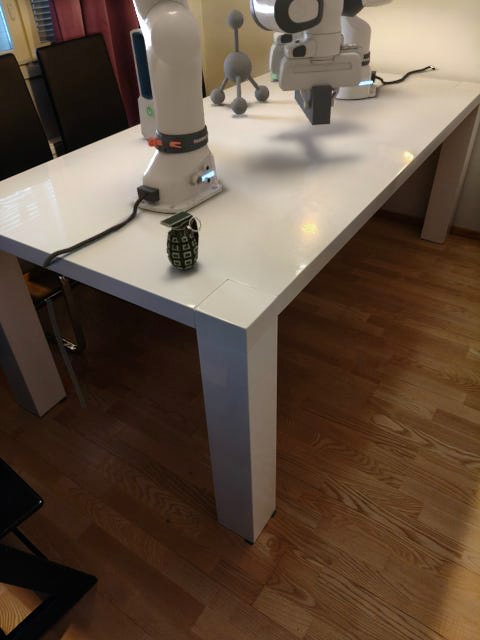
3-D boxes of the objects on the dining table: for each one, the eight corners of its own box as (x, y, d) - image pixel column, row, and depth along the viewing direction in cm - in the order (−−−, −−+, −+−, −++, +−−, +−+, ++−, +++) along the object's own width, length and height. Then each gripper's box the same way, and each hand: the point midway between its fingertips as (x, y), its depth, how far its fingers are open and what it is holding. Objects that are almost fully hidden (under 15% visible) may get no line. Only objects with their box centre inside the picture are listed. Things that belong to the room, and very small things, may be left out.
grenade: (182, 278, 88) (175, 228, 82) (162, 268, 91) (153, 219, 85) (208, 263, 92) (203, 214, 85) (187, 253, 95) (181, 205, 89)
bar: (330, 124, 123) (332, 87, 118) (312, 125, 123) (313, 88, 117) (309, 97, 144) (310, 65, 139) (294, 98, 144) (295, 66, 139)
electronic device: (141, 137, 154) (123, 28, 136) (159, 131, 158) (144, 24, 140) (166, 145, 147) (151, 30, 129) (185, 138, 151) (172, 26, 133)
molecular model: (288, 106, 174) (289, 7, 156) (237, 118, 165) (232, 15, 147) (250, 94, 190) (247, 3, 172) (202, 105, 181) (193, 10, 163)
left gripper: (361, 40, 118) (355, 101, 127) (277, 46, 118) (277, 106, 126) (368, 44, 113) (362, 107, 122) (281, 50, 113) (281, 113, 121)
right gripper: (341, 29, 134) (338, 83, 142) (267, 34, 133) (268, 88, 142) (347, 32, 129) (343, 88, 137) (270, 37, 128) (271, 93, 137)
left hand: (318, 107), depth 124 cm, fingers closed on bar, 4 cm apart
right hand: (304, 88), depth 139 cm, fingers open, 5 cm apart
